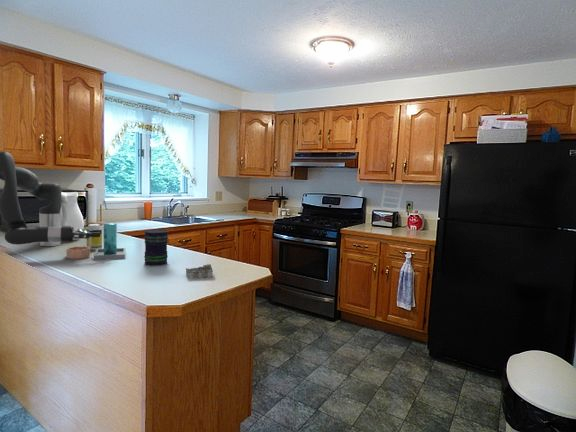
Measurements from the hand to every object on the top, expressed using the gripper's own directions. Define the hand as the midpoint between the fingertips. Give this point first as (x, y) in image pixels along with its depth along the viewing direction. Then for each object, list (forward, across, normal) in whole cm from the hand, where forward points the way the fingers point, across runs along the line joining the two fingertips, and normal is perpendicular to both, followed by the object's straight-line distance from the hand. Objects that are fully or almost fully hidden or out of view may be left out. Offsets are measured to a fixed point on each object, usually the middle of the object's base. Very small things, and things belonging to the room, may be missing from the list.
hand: (101, 233), depth 165 cm
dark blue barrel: (+23, -21, +11) cm, 34 cm away
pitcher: (-21, +48, +11) cm, 54 cm away
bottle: (+4, 0, +10) cm, 11 cm away
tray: (+4, 0, +11) cm, 12 cm away
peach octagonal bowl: (-10, +1, +11) cm, 15 cm away
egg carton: (+38, -47, +11) cm, 61 cm away
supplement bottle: (-4, +19, +11) cm, 22 cm away
